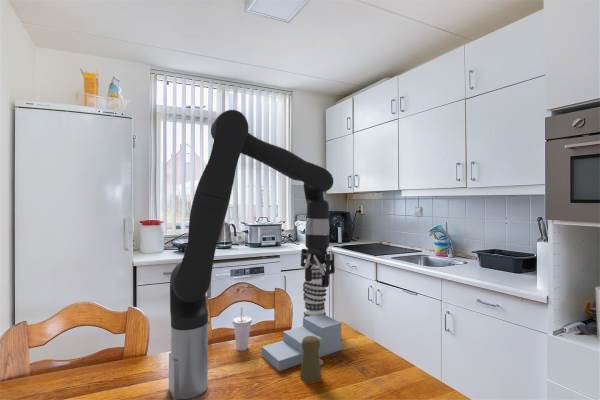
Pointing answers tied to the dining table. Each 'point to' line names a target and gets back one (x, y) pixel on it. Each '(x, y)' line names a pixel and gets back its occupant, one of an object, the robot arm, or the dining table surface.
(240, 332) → the smoothie
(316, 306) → the decorative candle
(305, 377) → the olive green pepper mill
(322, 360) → the pointer
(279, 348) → the step stand
